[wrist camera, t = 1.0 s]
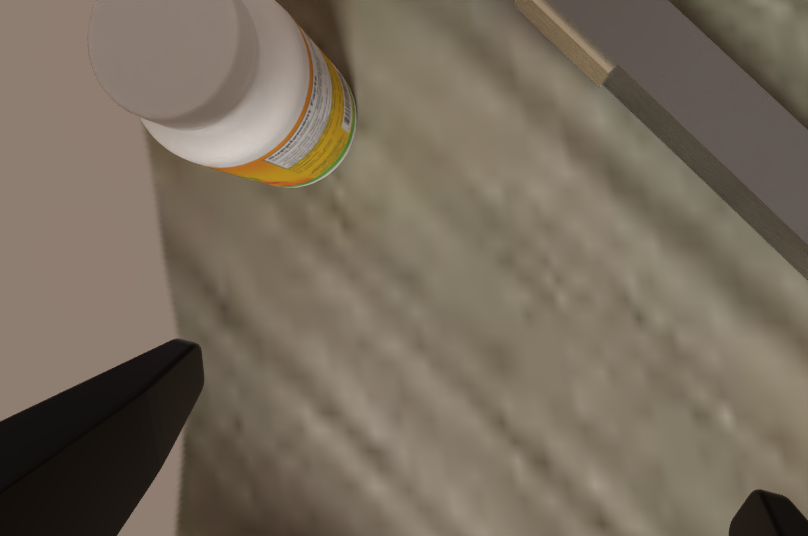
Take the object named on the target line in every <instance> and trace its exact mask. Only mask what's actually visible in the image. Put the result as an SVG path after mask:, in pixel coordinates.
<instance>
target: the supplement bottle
mask: <svg viewBox="0 0 808 536" xmlns="http://www.w3.org/2000/svg"><path fill="white" fill-rule="evenodd" d="M88 50H89V56H90V61H91V64H92V68H93V70H94V73H95V75H96V77H97V79H98V81H99V83H100V84H101V86H102V88H103V89H104V91H105V92H106V93H107V94H108V95H109V96H110V97H111V98H112V99H113V100H114V101H115V102H116V103H117V104H118V105H120V106H121V107H122V108H124V109H125V110H127V111H128V112H130V113H133V114H135V115H137V116H139V117H140V119H141V121H142V123H143V124H144V126H145V127H146V128H147V130H148V131H149V132H150V134H151V135H152V136H153V137H154V138H155V139H156V140H157V141H158V142H159V143H160V144H161V145H162V146H164V147H165V148H166V149H168V150H169V151H171V152H172V153H174V154H176V155H177V156H179V157H181V158H184V159H186V160H188V161H191V162H193V163H196V164H199V165H203V166H206V167H210V168H213V169H216V170H220V171H223V172H227V173H230V174H234V175H237V176H241V177H244V178H248V179H251V180H255V181H258V182H261V183H265V184H269V185H274V186H278V187H287V188H293V187H302V186H306V185H310V184H313V183H315V182H317V181H319V180H321V179H323V178H324V177H326V176H327V175H329V174H330V173H331V172H332V171H334V170H335V169H336V168H337V167H338V166H339V165H340V163H341V162H342V161H343V160H344V158H345V157H346V155H347V154H348V152H349V150H350V147H351V145H352V142H353V139H354V136H355V131H356V122H357V115H356V105H355V101H354V97H353V95H352V92H351V90H350V87H349V85H348V84H347V82H346V80H345V79H344V77H343V76H342V74H341V73H340V72H339V70H338V69H337V68H336V67H335V66H334V64H333V63H332V62H331V61H330V60H329V59H328V58H327V56H326V55H325V54H324V53H323V52H322V51H321V50H320V49H319V47H318V46H317V45H316V44H315V43H314V42H313V41H312V39H311V38H310V37H309V36H308V35H307V34H306V33H305V31H304V30H303V29H302V28H301V27H300V26H299V24H298V23H297V22H296V21H295V20H294V19H293V17H292V16H291V15H290V14H289V13H288V12H287V11H286V10H285V9H284V8H283V7H282V6H281V5H280V4H279V3H278V2H276V1H275V0H97V1H96V3H95V5H94V7H93V10H92V13H91V17H90V21H89V29H88Z"/></svg>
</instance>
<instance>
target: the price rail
mask: <svg viewBox="0 0 808 536" xmlns="http://www.w3.org/2000/svg"><path fill="white" fill-rule="evenodd" d="M514 7H515V8H516V9H517V10H519V11H520V12H521V13H522V14H523V15H524V16H525V17H526V18H527V19H528V20H529V21H530V22H531V23H532V24H533V25H534V26H535V27H536V28H537V29H538V30H539V31H540V32H541V33H543V34H544V35H545V36H546V37H547V38H548V39H549V40H550V41H551V42H552V43H553V44H554V45H555V46H556V47H557V48H558V49H559V50H560V51H561V52H562V53H563V54H564V55H565V56H567V57H568V58H569V59H570V60H571V61H572V62H573V63H574V64H575V65H576V66H577V67H578V68H579V69H580V70H581V71H582V72H583V73H584V74H585V75H586V76H587V77H588V78H590V79H591V80H592V81H593V82H594V83H595V84H596V85H597V86H598V87H600V86H601V85H602V84H603V85H604V86H605V87H606V88H607V89H608V90H609V91H610V92H611V93H612V94H614V95H615V96H616V97H617V98H618V99H619V100H620V101H621V102H622V103H623V104H624V105H625V106H626V107H627V108H628V109H629V110H630V111H631V112H632V113H633V114H634V115H635V116H637V117H638V118H639V119H640V120H641V121H642V122H643V123H644V124H645V125H646V126H647V127H648V128H649V129H650V130H651V131H652V132H653V133H654V134H655V135H656V136H657V137H658V138H660V139H661V140H662V141H663V142H664V143H665V144H666V145H667V146H668V147H669V148H670V149H671V150H672V151H673V152H674V153H675V154H676V155H677V156H678V157H679V158H680V159H681V160H683V161H684V162H685V163H686V164H687V165H688V166H689V167H690V168H691V169H692V170H693V171H694V172H695V173H696V174H697V175H698V176H699V177H700V178H701V179H702V180H703V181H704V182H706V183H707V184H708V185H709V186H710V187H711V188H712V189H713V190H714V191H715V192H716V193H717V194H718V195H719V196H720V197H721V198H722V199H723V200H724V201H725V202H726V203H728V204H729V205H730V206H731V207H732V208H733V209H734V210H735V211H736V212H737V213H738V214H739V215H740V216H741V217H742V218H743V219H744V220H745V221H746V222H747V223H748V224H749V225H751V226H752V227H753V228H754V229H755V230H756V231H757V232H758V233H759V234H760V235H761V236H762V237H763V238H764V239H765V240H766V241H767V242H768V243H769V244H770V245H771V246H772V247H774V248H775V249H776V250H777V251H778V252H779V253H780V254H781V255H782V256H783V257H784V258H785V259H786V260H787V261H788V262H789V263H790V264H791V265H792V266H793V267H794V268H795V269H797V270H798V271H799V272H800V273H801V274H802V275H803V276H804V277H805V278H806V279H807V280H808V130H807V129H806V128H805V127H804V126H803V125H802V124H801V123H800V122H799V121H798V120H797V119H796V118H795V117H793V116H792V115H791V114H790V113H789V112H788V111H787V110H786V109H785V108H784V107H783V106H782V105H781V104H779V103H778V102H777V101H776V100H775V99H774V98H773V97H772V96H771V95H770V94H769V93H768V92H767V91H765V90H764V89H763V88H762V87H761V86H760V85H759V84H758V83H757V82H756V81H755V80H754V79H753V78H751V77H750V76H749V75H748V74H747V73H746V72H745V71H744V70H743V69H742V68H741V67H740V66H738V65H737V64H736V63H735V62H734V61H733V60H732V59H731V58H730V57H729V56H728V55H727V54H726V53H724V52H723V51H722V50H721V49H720V48H719V47H718V46H717V45H716V44H715V43H714V42H713V41H712V40H710V39H709V38H708V37H707V36H706V35H705V34H704V33H703V32H702V31H701V30H700V29H699V28H698V27H696V26H695V25H694V24H693V23H692V22H691V21H690V20H689V19H688V18H687V17H686V16H685V15H684V14H682V13H681V12H680V11H679V10H678V9H677V8H676V7H675V6H674V5H673V4H672V3H671V2H670V1H668V0H514Z"/></svg>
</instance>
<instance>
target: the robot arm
mask: <svg viewBox="0 0 808 536" xmlns="http://www.w3.org/2000/svg"><path fill="white" fill-rule="evenodd" d="M203 385H204V369H203V360H202V351H201V347H200V346H199V344H197V343H194V342H190V341H186V340H183V339H174V340H171V341H169V342H167V343H165V344H163V345H160V346H158V347H157V348H154V349H152V350H150V351H148V352H146V353H144V354H141V355H139V356H137V357H135V358H133V359H131V360H129V361H127V362H125V363H122V364H120V365H118V366H116V367H114V368H112V369H110V370H108V371H106V372H103V373H102V374H99V375H97V376H95V377H93V378H91V379H89V380H87V381H84V382H83V383H80V384H78V385H76V386H74V387H72V388H70V389H68V390H65V391H63V392H61V393H59V394H57V395H55V396H53V397H51V398H49V399H47V400H44V401H42V402H40V403H38V404H36V405H34V406H32V407H30V408H28V409H25V410H23V411H21V412H19V413H17V414H15V415H13V416H11V417H9V418H7V419H4V420H3V421H0V536H117V535H118V533H119V531H120V530H121V528H122V527H123V526H124V524H125V523H126V521H127V520H128V518H129V517H130V515H131V513H132V512H133V510H134V509H135V507H136V506H137V504H138V503H139V501H140V500H141V498H142V497H143V495H144V494H145V492H146V491H147V489H148V488H149V486H150V485H151V483H152V482H153V480H154V479H155V477H156V475H157V474H158V472H159V471H160V469H161V467H162V466H163V464H164V462H165V460H166V458H167V457H168V455H169V453H170V451H171V449H172V447H173V445H174V443H175V441H176V439H177V437H178V436H179V434H180V432H181V430H182V428H183V426H184V424H185V422H186V420H187V418H188V416H189V414H190V412H191V411H192V409H193V407H194V405H195V403H196V401H197V399H198V397H199V395H200V393H201V391H202V388H203ZM729 536H808V520H807V519H806V518H805V517H804V515H803V514H802V513H801V512H800V511H799V510H798V509H797V507H796V506H795V505H794V504H793V503H792V502H791V501H790V500H789V499H788V498H787V497H785V496H783V495H780V494H776V493H772V492H768V491H765V490H761V489H757V490H754V491H753V492H752V493H751V494H750V495H749V496H748V498H747V499H746V501H745V502H744V503H743V505H742V506H741V508H740V509H739V511H738V512H737V513H736V515H735V516H734V518H733V519H732V521H731V524H730V528H729Z"/></svg>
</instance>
